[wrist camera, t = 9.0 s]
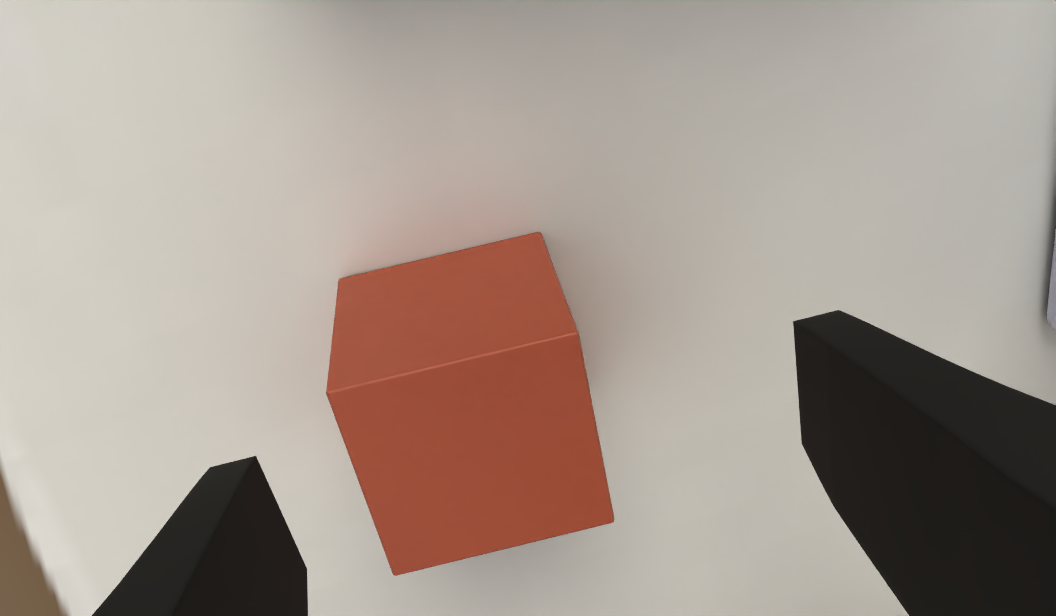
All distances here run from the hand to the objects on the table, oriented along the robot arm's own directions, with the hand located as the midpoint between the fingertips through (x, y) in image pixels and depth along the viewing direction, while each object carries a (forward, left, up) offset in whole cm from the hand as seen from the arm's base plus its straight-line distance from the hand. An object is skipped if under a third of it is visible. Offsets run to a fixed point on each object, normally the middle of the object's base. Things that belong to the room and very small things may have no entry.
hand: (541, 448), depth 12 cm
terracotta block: (-3, +1, -8) cm, 9 cm away
